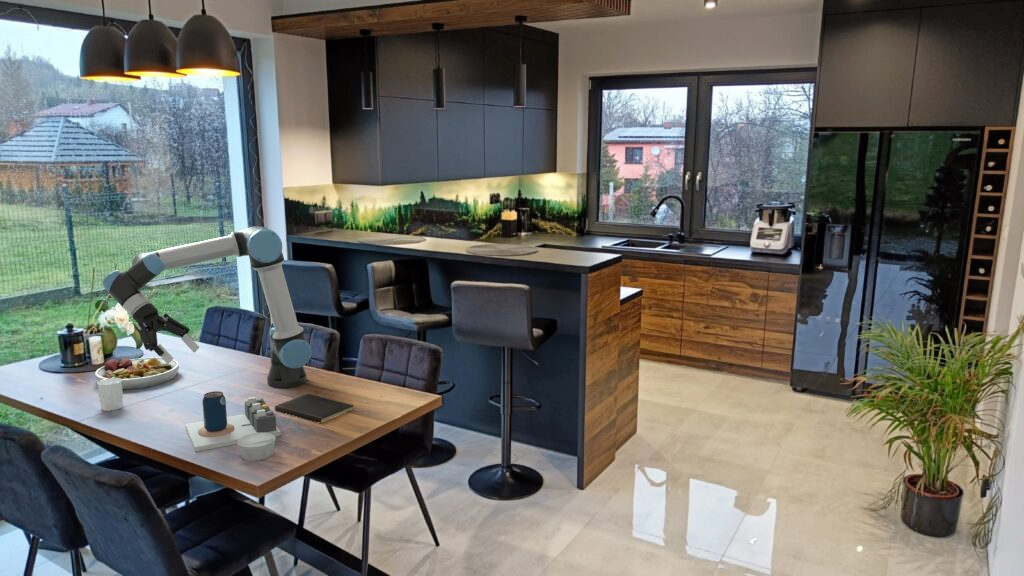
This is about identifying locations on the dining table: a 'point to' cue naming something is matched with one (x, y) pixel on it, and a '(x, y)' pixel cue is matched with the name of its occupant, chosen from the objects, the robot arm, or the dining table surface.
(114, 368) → the bowl
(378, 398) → the dining table surface
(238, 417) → the breaker board
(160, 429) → the dining table surface
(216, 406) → the soda can
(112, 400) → the white cup
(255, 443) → the ramekin
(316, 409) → the hardcover book
